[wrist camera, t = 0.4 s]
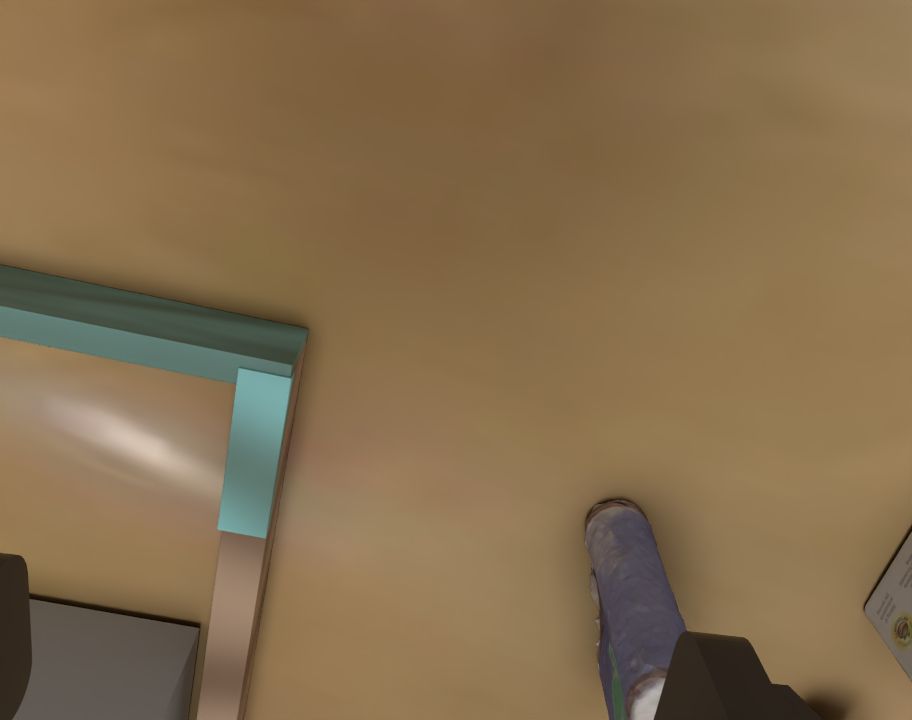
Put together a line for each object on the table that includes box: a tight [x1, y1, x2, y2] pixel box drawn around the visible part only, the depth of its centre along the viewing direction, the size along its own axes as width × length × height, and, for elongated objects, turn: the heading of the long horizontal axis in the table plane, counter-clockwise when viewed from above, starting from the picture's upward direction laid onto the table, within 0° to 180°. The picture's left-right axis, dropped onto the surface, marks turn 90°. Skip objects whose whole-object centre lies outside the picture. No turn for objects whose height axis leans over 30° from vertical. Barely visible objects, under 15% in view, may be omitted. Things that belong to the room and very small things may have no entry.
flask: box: [584, 500, 687, 720], centre depth 27 cm, size 9×3×11 cm, turn 8°
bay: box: [0, 265, 309, 720], centre depth 30 cm, size 25×17×3 cm, turn 167°
